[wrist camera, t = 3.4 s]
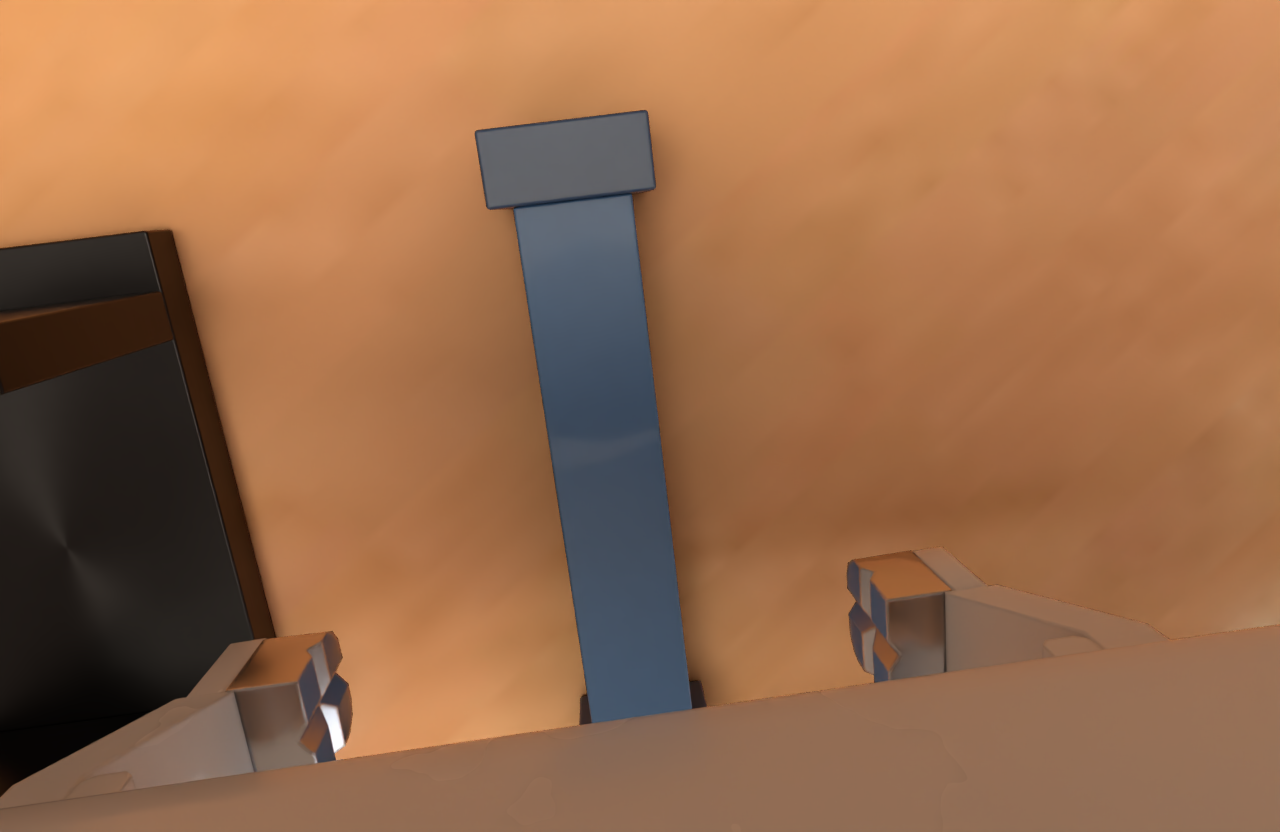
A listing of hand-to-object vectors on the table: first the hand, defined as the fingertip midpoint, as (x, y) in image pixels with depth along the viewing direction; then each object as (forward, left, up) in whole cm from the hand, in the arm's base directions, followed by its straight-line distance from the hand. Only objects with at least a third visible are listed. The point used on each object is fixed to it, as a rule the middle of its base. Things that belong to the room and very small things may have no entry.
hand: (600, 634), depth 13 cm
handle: (0, 0, -10) cm, 10 cm away
